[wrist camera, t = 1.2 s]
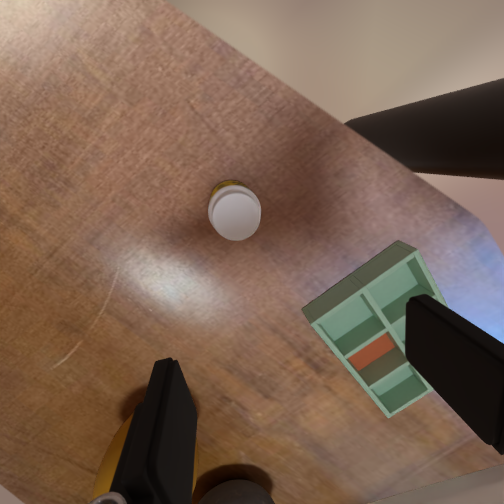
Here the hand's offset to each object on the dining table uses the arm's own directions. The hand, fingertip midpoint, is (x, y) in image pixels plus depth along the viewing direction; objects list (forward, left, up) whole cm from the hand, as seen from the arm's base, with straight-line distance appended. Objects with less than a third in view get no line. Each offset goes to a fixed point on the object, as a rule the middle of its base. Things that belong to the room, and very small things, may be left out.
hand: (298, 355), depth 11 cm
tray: (-7, +25, -21) cm, 33 cm away
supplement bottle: (-1, -3, -22) cm, 22 cm away
